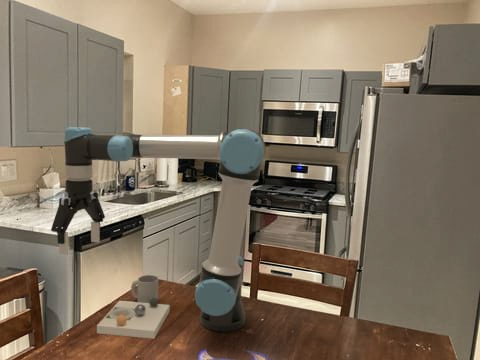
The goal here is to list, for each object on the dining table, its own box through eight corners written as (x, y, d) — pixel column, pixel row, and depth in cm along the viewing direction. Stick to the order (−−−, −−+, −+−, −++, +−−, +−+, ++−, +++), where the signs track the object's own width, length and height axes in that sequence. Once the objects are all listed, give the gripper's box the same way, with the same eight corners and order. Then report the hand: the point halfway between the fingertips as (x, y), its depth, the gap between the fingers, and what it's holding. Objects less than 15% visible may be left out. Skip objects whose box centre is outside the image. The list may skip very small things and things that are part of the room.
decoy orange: (128, 322, 127) (128, 313, 126) (124, 327, 124) (124, 318, 123) (118, 321, 127) (118, 312, 126) (114, 326, 124) (115, 317, 124)
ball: (146, 313, 134) (147, 303, 133) (143, 318, 130) (143, 307, 130) (136, 312, 134) (136, 302, 133) (132, 317, 130) (133, 306, 130)
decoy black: (159, 304, 140) (159, 296, 140) (156, 308, 137) (157, 300, 137) (150, 304, 140) (151, 295, 140) (148, 307, 137) (148, 299, 137)
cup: (153, 307, 143) (154, 283, 142) (126, 304, 145) (127, 280, 143) (160, 299, 150) (161, 276, 149) (135, 296, 152) (135, 273, 150)
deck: (169, 311, 141) (169, 305, 140) (154, 338, 123) (154, 330, 122) (119, 307, 142) (119, 300, 142) (96, 333, 124) (96, 325, 124)
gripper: (96, 173, 134) (97, 236, 137) (35, 183, 111) (38, 257, 114) (115, 175, 132) (116, 238, 134) (57, 185, 108) (59, 261, 111)
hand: (80, 247), depth 124 cm, fingers open, 13 cm apart
